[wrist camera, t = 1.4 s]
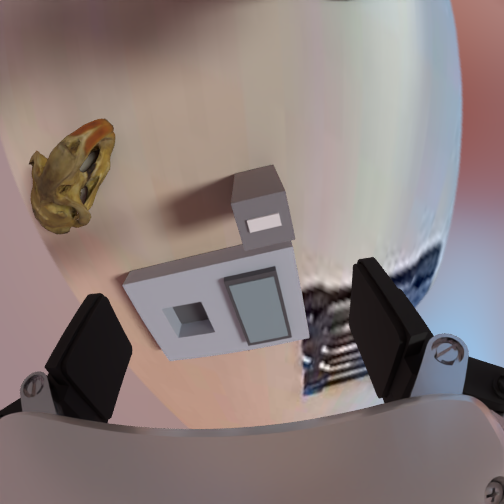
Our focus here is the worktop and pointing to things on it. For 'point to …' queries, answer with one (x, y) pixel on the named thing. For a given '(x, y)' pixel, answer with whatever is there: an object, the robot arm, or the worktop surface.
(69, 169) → the animal skull
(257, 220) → the block
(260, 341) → the dock board
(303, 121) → the worktop surface
